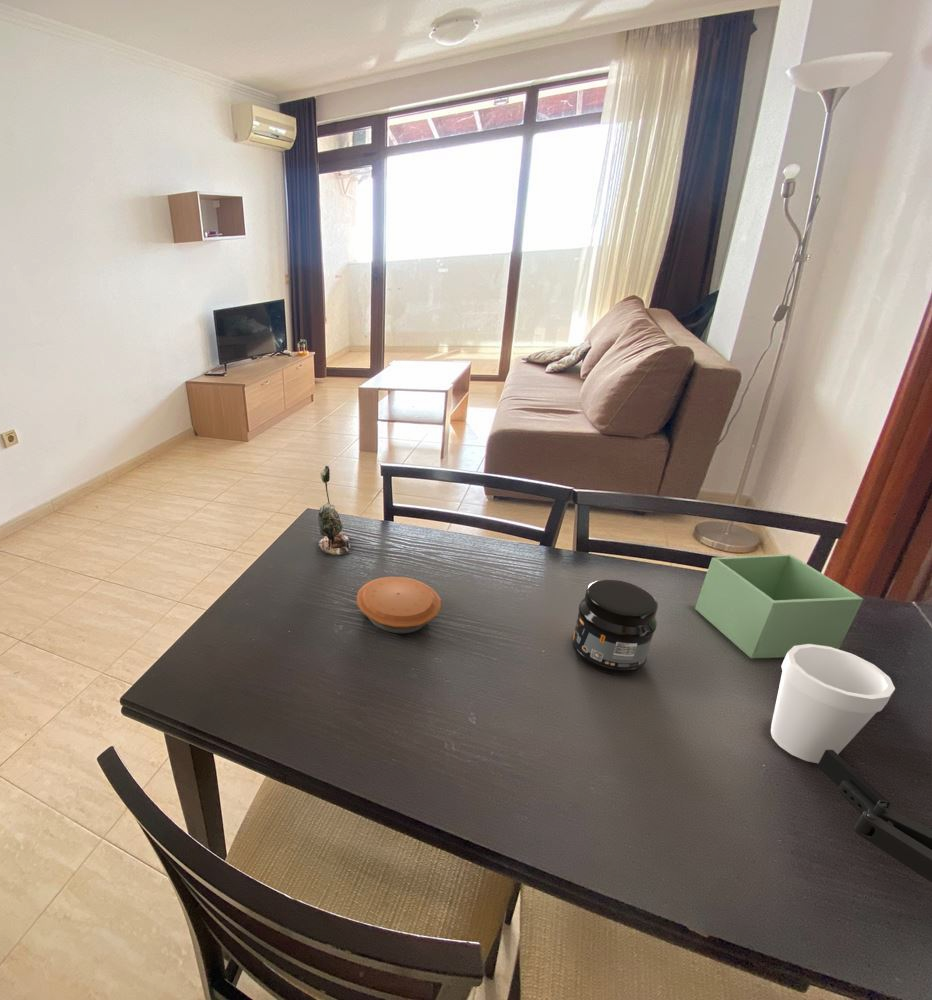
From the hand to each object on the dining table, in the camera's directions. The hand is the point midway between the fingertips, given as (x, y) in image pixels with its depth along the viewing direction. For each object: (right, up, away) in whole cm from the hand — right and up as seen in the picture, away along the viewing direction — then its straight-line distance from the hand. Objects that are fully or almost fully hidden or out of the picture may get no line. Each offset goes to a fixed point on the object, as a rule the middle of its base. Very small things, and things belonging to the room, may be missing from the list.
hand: (886, 755), depth 62 cm
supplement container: (-15, +3, +28) cm, 32 cm away
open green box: (+13, +7, +30) cm, 34 cm away
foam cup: (+1, -4, +11) cm, 11 cm away
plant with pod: (-55, +18, +65) cm, 88 cm away
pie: (-46, +7, +41) cm, 62 cm away
